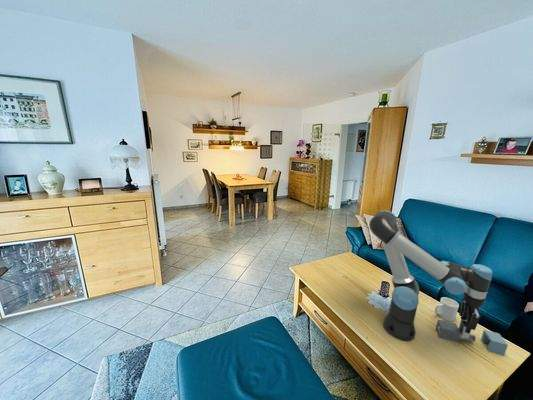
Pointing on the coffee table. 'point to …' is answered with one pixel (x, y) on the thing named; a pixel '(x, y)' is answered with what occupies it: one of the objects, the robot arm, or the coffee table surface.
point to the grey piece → (471, 337)
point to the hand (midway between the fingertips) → (463, 333)
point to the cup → (447, 309)
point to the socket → (494, 342)
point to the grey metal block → (449, 331)
